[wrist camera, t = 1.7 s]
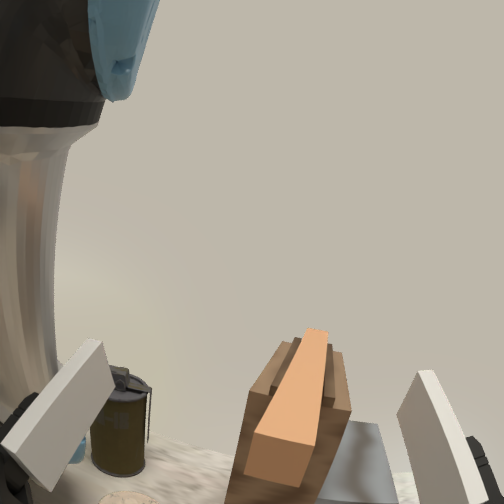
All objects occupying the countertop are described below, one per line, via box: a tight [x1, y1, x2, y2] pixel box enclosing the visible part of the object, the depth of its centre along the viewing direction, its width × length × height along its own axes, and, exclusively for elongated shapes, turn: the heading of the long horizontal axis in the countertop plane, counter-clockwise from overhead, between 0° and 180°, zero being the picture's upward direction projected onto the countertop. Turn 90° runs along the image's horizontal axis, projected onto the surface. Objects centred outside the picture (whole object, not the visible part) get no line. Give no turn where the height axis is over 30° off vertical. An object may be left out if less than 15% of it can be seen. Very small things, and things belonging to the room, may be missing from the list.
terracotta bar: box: [244, 328, 328, 487], centre depth 27 cm, size 3×30×3 cm, turn 165°
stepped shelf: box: [224, 337, 399, 504], centre depth 31 cm, size 18×20×31 cm
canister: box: [90, 365, 152, 477], centre depth 42 cm, size 11×10×20 cm
